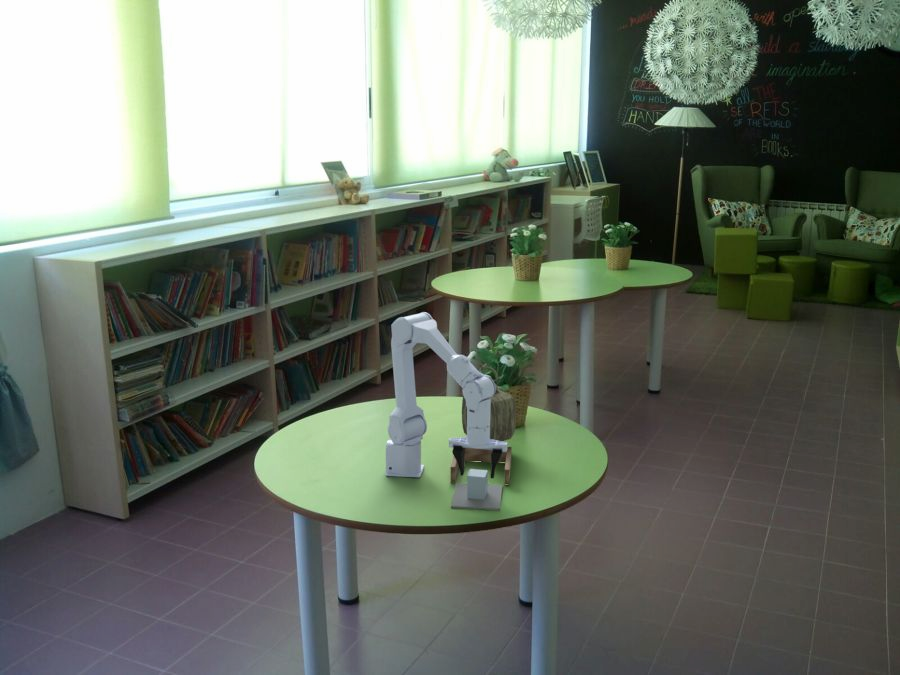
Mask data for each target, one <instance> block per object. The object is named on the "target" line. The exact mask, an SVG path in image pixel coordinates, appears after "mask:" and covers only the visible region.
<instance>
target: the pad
mask: <svg viewBox="0 0 900 675" xmlns="http://www.w3.org/2000/svg"><path fill="white" fill-rule="evenodd" d="M502 493H503V484H488V486H487V495H486V498H485V500H483V499H471V498H467V482H463V483H462V482H455V489H454V492H453V496H452V500H451V505H450V508H451V509H461V510H462V509H463V510H464V509H465V510H481V509H486V511H500V510H501V501H502Z"/></svg>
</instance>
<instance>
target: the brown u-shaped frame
mask: <svg viewBox="0 0 900 675" xmlns="http://www.w3.org/2000/svg"><path fill="white" fill-rule="evenodd" d="M492 451H493V450H487V449H475V448H465V456H464V461H481V462H480V463H484V462H491V453H492ZM498 462H506V463H504V464H505V465H504V481H503V482H504V483H503V484H504V485H505V484H509V485H510V480H509V479H511V470H510V469H511V467H512V446H507V452H502V455H501V457H500V459H499V461H498ZM458 468H459V466H458V463H457V461H456V459H455V457H454V455H453V457H452V460H451V463H450V477H449V478H450V483H451V484H456V481H457V477H458V473H459V469H458Z"/></svg>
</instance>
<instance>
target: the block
mask: <svg viewBox="0 0 900 675" xmlns="http://www.w3.org/2000/svg"><path fill="white" fill-rule="evenodd" d="M488 471H489V470H487V469H474V468H470V469H469V471H468V472H467V473H468V474H467V475H466V476H467V480H466V483H467V498H471V499H483V500H485V498H486V495H487V486H488V485H489V484H488V479H489V476H488V474H489V472H488Z"/></svg>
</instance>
